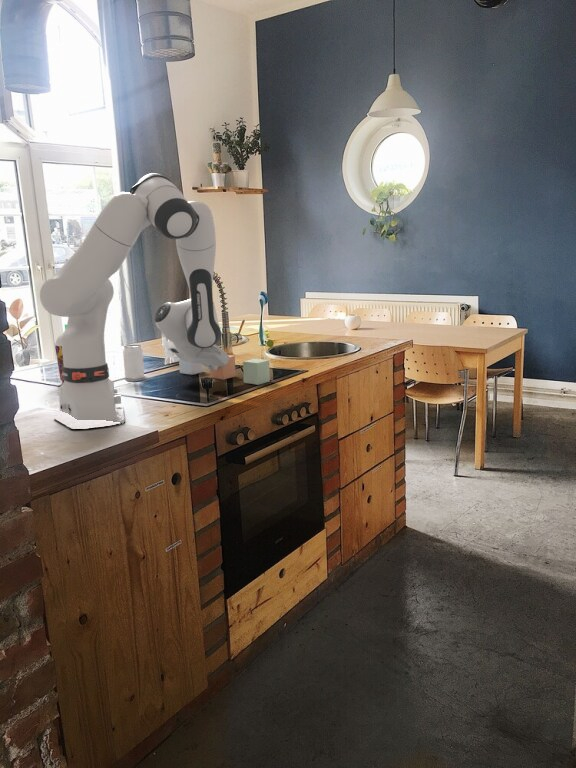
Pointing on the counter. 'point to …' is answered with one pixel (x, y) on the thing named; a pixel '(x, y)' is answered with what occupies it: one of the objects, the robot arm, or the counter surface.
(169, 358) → the beer glass
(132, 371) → the can
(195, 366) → the bluegrey block
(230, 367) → the terracotta block
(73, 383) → the robot arm
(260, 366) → the sage block
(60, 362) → the smoothie
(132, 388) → the counter surface
